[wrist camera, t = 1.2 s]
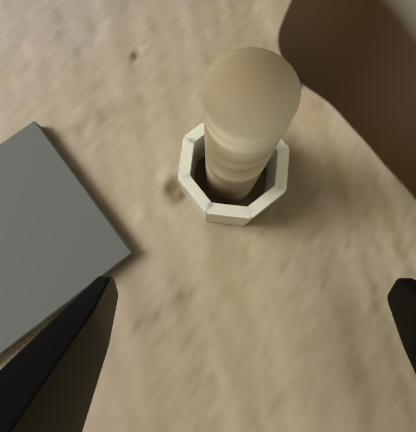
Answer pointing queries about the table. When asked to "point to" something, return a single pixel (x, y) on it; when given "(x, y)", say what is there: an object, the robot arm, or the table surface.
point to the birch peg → (245, 117)
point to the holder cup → (223, 212)
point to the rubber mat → (46, 235)
